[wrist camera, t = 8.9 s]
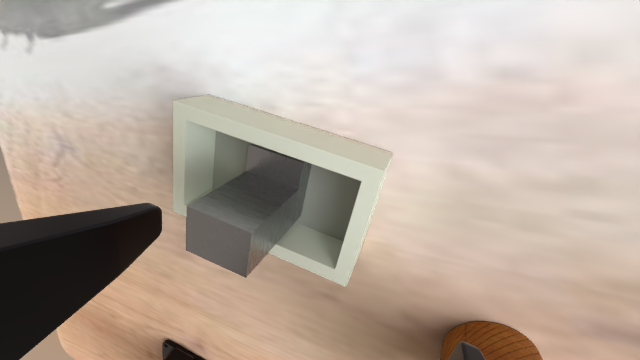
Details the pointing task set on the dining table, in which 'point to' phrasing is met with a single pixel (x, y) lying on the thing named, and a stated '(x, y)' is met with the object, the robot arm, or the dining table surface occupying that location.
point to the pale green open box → (296, 141)
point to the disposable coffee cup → (491, 342)
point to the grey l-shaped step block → (248, 211)
